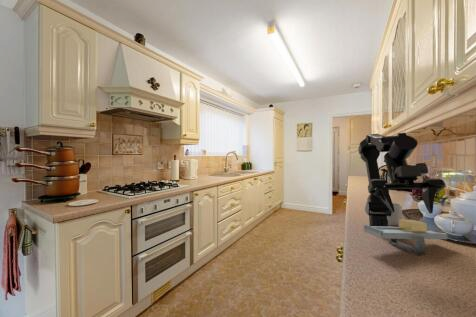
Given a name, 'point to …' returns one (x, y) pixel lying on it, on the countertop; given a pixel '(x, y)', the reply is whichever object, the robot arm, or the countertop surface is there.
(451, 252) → the countertop surface
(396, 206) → the cup
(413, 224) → the pale yellow block
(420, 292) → the countertop surface
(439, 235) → the beam
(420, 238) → the stand
